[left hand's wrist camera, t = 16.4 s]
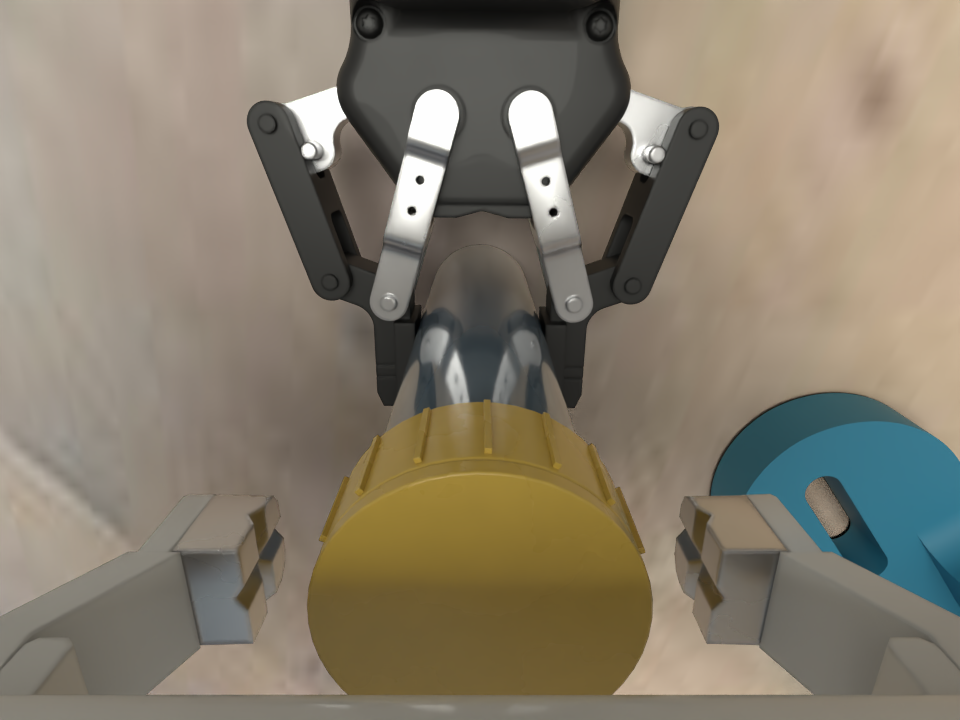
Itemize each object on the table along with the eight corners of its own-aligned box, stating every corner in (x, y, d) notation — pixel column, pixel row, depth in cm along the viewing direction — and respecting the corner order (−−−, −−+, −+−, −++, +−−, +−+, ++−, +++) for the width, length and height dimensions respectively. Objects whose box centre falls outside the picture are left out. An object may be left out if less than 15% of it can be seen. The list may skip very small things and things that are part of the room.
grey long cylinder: (532, 329, 27) (627, 681, 10) (441, 342, 27) (371, 709, 10) (521, 237, 26) (610, 455, 8) (425, 251, 26) (310, 492, 8)
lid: (661, 434, 10) (710, 514, 8) (573, 655, 12) (593, 769, 10) (365, 367, 10) (333, 432, 7) (319, 608, 11) (282, 714, 9)
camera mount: (1005, 598, 32) (1233, 799, 23) (827, 683, 35) (965, 900, 25) (869, 350, 27) (1087, 470, 18) (671, 468, 30) (766, 634, 20)
